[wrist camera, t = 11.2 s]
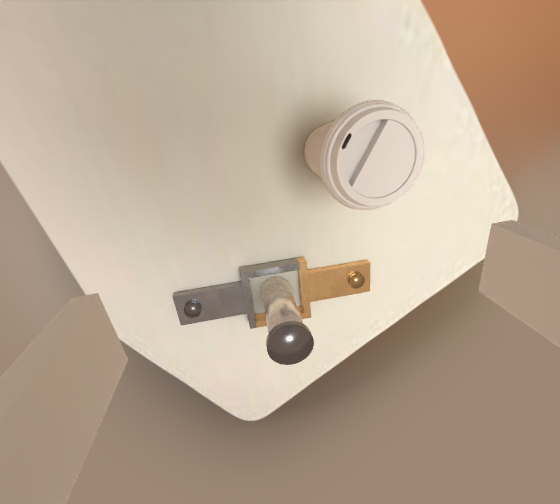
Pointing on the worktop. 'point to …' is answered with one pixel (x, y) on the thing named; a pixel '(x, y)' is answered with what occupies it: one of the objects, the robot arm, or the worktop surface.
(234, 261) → the worktop surface
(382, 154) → the coffee cup
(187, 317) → the link plate steel
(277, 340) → the pin
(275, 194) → the worktop surface
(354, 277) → the link plate bronze
